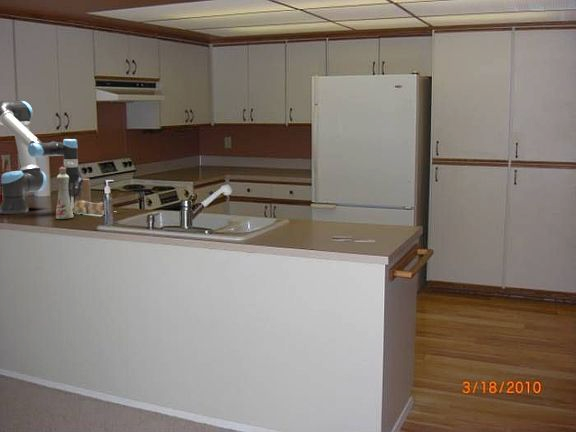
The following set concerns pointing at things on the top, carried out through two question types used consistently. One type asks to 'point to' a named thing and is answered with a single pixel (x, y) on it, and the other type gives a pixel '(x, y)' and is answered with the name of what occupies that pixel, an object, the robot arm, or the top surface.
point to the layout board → (87, 214)
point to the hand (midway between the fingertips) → (72, 208)
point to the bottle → (63, 196)
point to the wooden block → (85, 190)
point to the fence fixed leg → (94, 208)
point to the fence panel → (80, 206)
